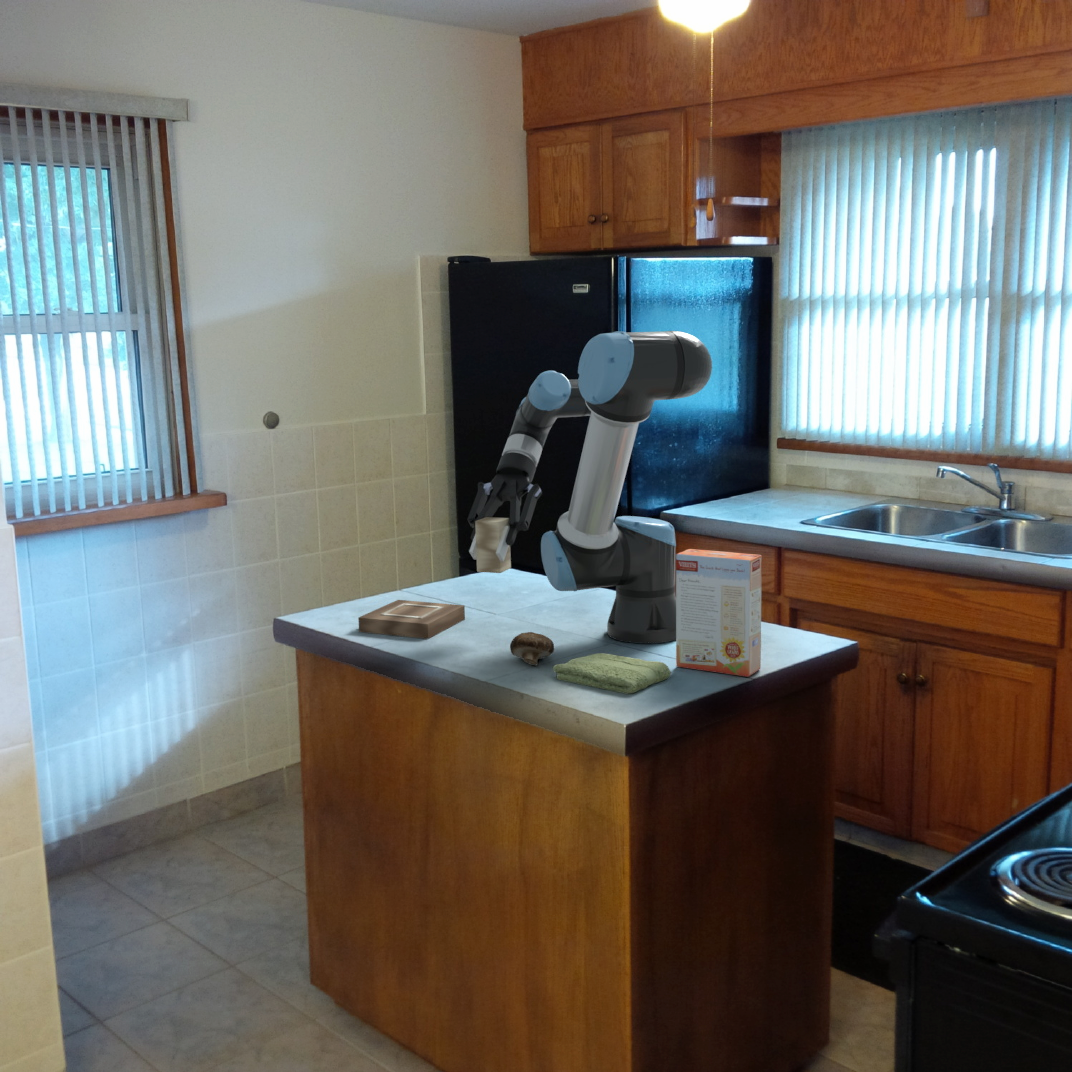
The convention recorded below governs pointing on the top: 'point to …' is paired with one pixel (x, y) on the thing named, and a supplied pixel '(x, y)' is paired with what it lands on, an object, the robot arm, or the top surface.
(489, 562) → the beech pillar
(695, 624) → the cracker box
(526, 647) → the mushroom
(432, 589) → the top surface
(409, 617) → the base board
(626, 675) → the washcloth
